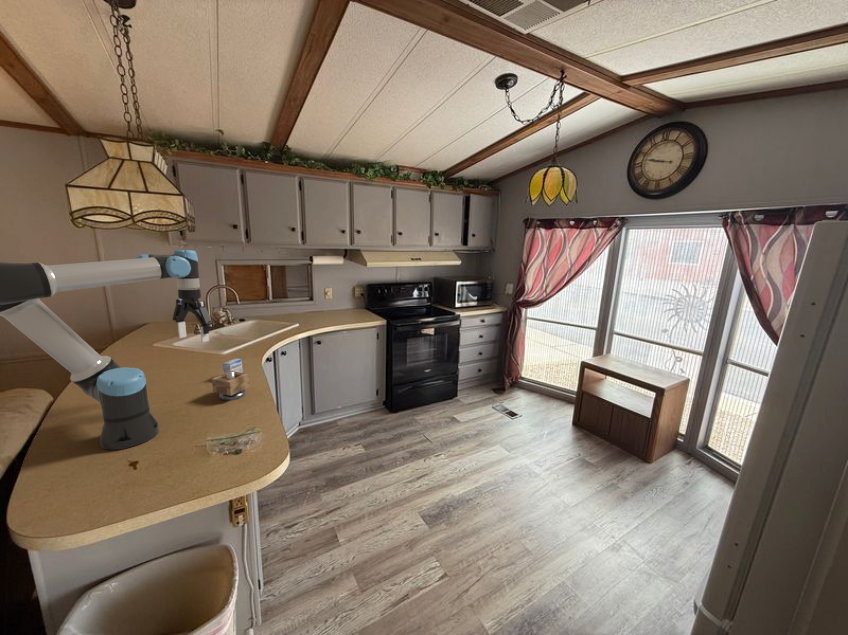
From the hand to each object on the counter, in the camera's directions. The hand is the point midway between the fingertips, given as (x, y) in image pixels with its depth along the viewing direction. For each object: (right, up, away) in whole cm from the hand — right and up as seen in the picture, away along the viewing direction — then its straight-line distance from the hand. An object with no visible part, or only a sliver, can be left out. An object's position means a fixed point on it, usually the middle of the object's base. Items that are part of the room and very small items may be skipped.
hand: (193, 339), depth 138 cm
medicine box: (0, -21, +28) cm, 35 cm away
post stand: (+12, -25, +8) cm, 29 cm away
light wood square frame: (+12, -22, +7) cm, 26 cm away
